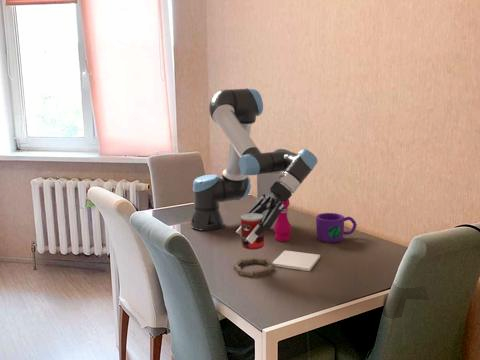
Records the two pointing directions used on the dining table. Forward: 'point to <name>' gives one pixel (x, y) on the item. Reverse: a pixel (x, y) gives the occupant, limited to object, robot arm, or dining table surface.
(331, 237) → the mug
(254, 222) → the canned food
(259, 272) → the wooden polygonal ring
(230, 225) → the dining table surface
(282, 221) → the pepper mill
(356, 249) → the dining table surface
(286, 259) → the coaster
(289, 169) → the robot arm
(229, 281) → the dining table surface
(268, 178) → the cylinder vase
